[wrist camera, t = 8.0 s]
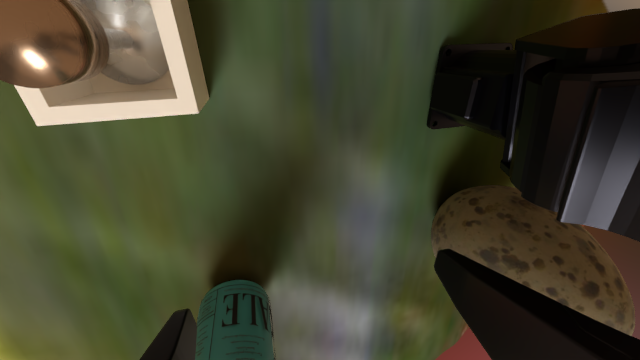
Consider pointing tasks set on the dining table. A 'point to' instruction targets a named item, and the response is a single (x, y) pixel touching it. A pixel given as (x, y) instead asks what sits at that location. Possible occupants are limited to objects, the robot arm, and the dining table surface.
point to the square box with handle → (126, 99)
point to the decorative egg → (535, 251)
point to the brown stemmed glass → (79, 42)
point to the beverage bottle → (235, 323)
